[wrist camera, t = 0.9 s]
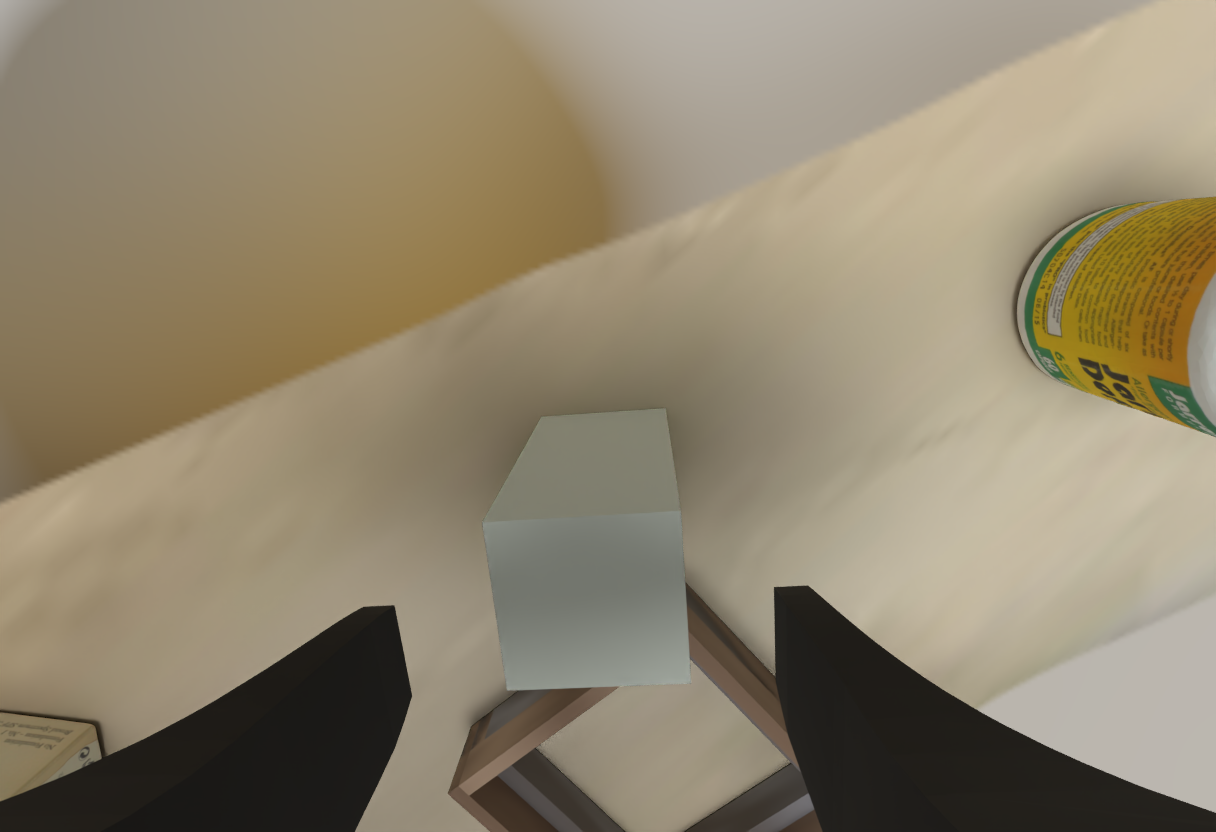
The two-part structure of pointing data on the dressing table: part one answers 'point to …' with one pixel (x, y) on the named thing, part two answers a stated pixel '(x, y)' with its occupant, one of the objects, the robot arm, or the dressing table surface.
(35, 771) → the skincare box
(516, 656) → the sage peg
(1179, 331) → the supplement bottle
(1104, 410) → the dressing table surface
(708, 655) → the bore box
